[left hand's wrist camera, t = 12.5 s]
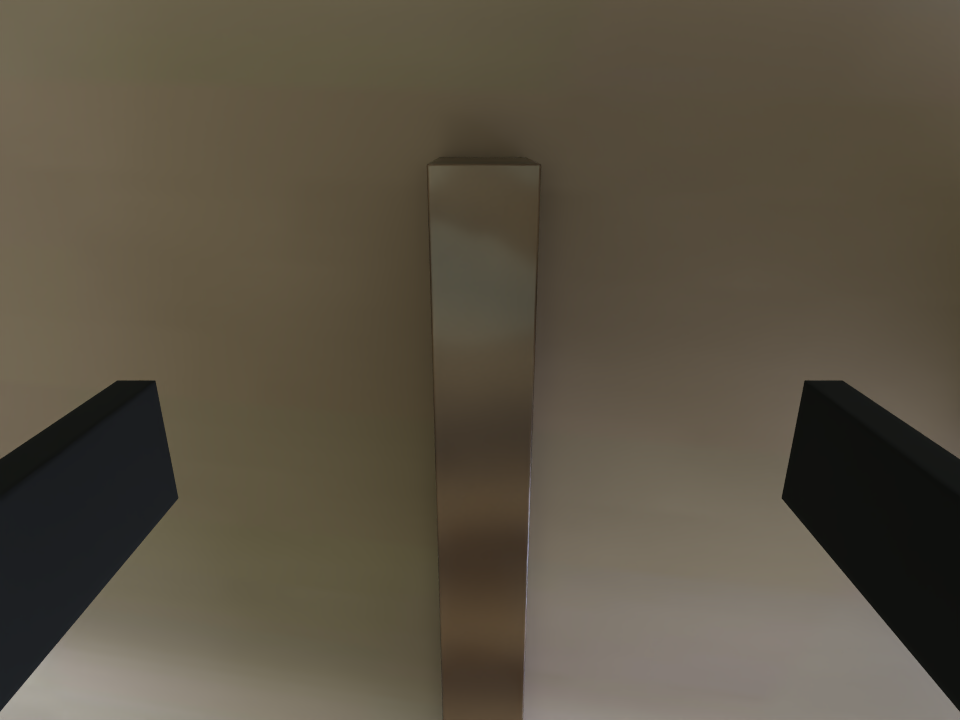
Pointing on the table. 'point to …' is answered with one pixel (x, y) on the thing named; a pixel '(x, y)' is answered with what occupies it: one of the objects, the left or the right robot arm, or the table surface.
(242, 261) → the table surface
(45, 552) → the left robot arm
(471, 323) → the block
